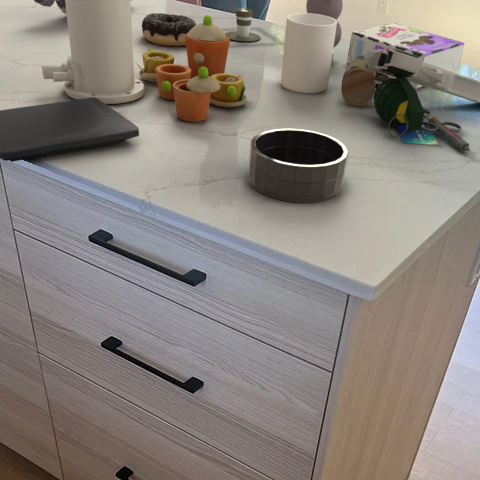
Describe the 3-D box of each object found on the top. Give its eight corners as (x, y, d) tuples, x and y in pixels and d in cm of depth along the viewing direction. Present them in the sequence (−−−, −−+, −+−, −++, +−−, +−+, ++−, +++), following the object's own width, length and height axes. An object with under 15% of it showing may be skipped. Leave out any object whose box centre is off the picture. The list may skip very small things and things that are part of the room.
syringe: (451, 161, 90) (455, 149, 89) (393, 114, 102) (396, 102, 101) (495, 161, 93) (500, 149, 91) (433, 114, 104) (437, 104, 103)
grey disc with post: (227, 46, 126) (229, 17, 122) (205, 30, 133) (206, 2, 130) (281, 43, 130) (284, 15, 126) (257, 28, 137) (259, 1, 134)
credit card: (393, 122, 100) (393, 122, 100) (426, 124, 101) (426, 124, 100) (403, 143, 94) (403, 142, 94) (438, 145, 95) (438, 144, 94)
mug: (347, 63, 101) (352, 47, 109) (335, 99, 104) (340, 80, 113) (394, 80, 101) (395, 63, 110) (379, 115, 105) (381, 96, 113)
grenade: (362, 113, 103) (393, 144, 95) (368, 68, 98) (401, 98, 90) (397, 108, 104) (431, 139, 96) (404, 64, 99) (441, 93, 91)
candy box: (425, 54, 109) (350, 31, 117) (416, 91, 113) (344, 66, 121) (466, 41, 116) (392, 20, 124) (456, 76, 120) (386, 54, 128)
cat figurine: (344, 66, 120) (356, -9, 112) (307, 67, 118) (316, -9, 110) (325, 53, 126) (336, -19, 117) (289, 54, 124) (297, -20, 115)
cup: (294, 95, 107) (302, 26, 99) (262, 74, 114) (267, 8, 107) (336, 91, 109) (346, 24, 102) (302, 71, 117) (309, 6, 110)
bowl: (269, 207, 76) (272, 170, 73) (235, 166, 84) (237, 131, 81) (358, 197, 80) (365, 162, 77) (317, 159, 88) (322, 125, 84)
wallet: (144, 143, 88) (95, 108, 96) (143, 129, 86) (93, 95, 95) (2, 171, 79) (-38, 130, 87) (-1, 155, 77) (-41, 115, 86)
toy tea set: (131, 72, 110) (128, 7, 103) (216, 69, 114) (218, 6, 107) (172, 128, 93) (171, 54, 86) (269, 121, 97) (276, 51, 90)
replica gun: (355, 43, 104) (349, 65, 106) (392, 46, 91) (384, 70, 93) (501, 91, 113) (493, 110, 114) (554, 99, 99) (545, 121, 101)
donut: (156, 50, 121) (156, 26, 118) (132, 34, 128) (130, 11, 125) (207, 45, 125) (208, 22, 122) (181, 30, 132) (181, 8, 129)
